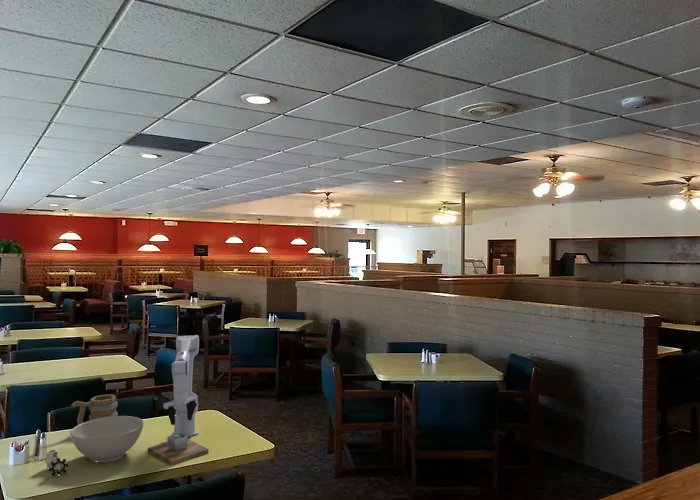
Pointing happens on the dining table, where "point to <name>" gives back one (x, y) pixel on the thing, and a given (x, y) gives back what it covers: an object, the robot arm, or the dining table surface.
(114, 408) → the tankard
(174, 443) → the collar
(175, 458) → the post board
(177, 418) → the robot arm
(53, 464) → the valve
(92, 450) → the decorative bowl
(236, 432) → the dining table surface
